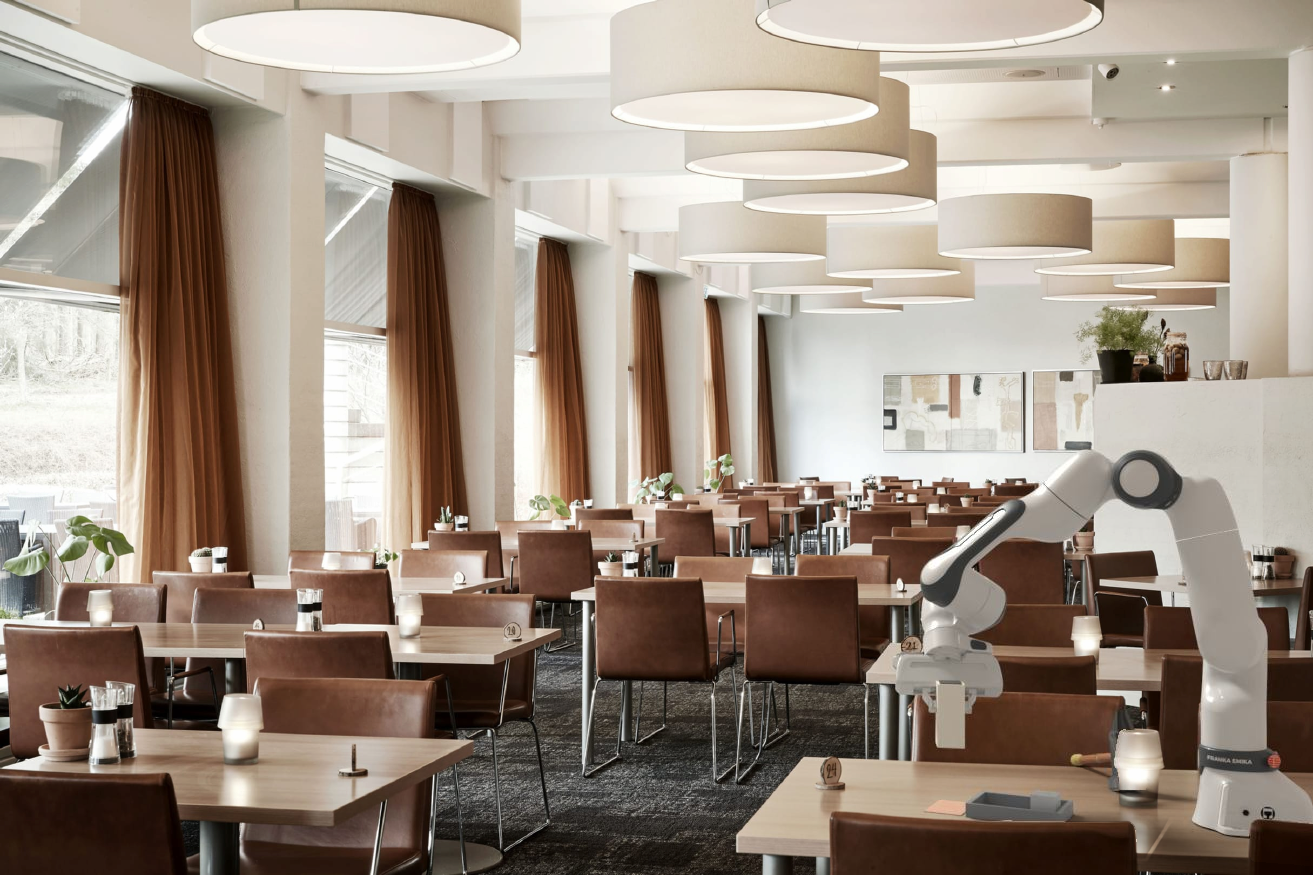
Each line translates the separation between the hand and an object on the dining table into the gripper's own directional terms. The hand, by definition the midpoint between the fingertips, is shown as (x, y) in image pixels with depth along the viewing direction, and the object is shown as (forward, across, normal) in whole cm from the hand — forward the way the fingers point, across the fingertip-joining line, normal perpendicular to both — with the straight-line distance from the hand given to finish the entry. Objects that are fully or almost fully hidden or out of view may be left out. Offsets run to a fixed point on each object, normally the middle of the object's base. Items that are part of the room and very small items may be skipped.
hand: (950, 711), depth 264 cm
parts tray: (+16, +12, +10) cm, 23 cm away
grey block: (+17, +17, +9) cm, 25 cm away
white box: (+4, 0, +5) cm, 7 cm away
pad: (+13, 0, +14) cm, 19 cm away
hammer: (-11, +34, +38) cm, 53 cm away
